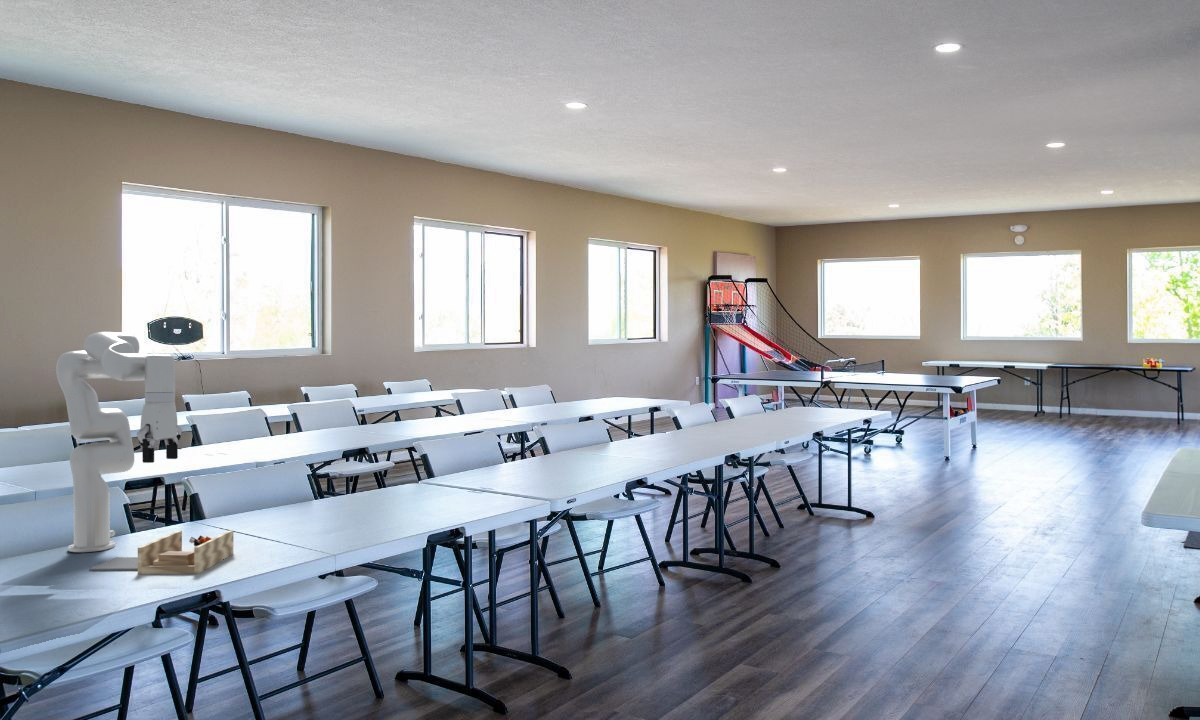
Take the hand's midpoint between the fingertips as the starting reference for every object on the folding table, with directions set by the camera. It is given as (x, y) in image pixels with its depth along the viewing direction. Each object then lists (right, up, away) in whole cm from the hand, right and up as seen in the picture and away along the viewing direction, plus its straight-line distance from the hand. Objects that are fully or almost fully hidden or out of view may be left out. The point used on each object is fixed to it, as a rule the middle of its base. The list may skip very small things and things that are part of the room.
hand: (160, 460), depth 250 cm
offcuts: (+7, -29, -5) cm, 30 cm away
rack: (+7, -29, +2) cm, 30 cm away
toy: (+9, -26, +7) cm, 28 cm away
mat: (-9, -29, +1) cm, 31 cm away
